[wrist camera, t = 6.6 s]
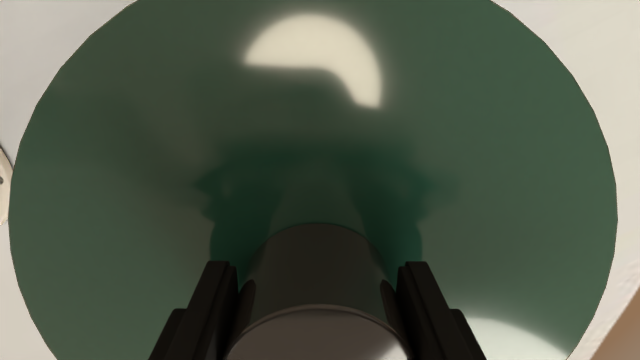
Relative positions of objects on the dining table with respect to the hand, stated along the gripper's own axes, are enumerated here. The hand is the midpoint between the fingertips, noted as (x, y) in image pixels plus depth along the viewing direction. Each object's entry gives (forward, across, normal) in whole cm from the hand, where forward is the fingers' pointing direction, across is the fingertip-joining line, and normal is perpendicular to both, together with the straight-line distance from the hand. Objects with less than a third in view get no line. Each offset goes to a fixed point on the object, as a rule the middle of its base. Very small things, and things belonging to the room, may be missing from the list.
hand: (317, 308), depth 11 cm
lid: (+2, 0, 0) cm, 2 cm away
